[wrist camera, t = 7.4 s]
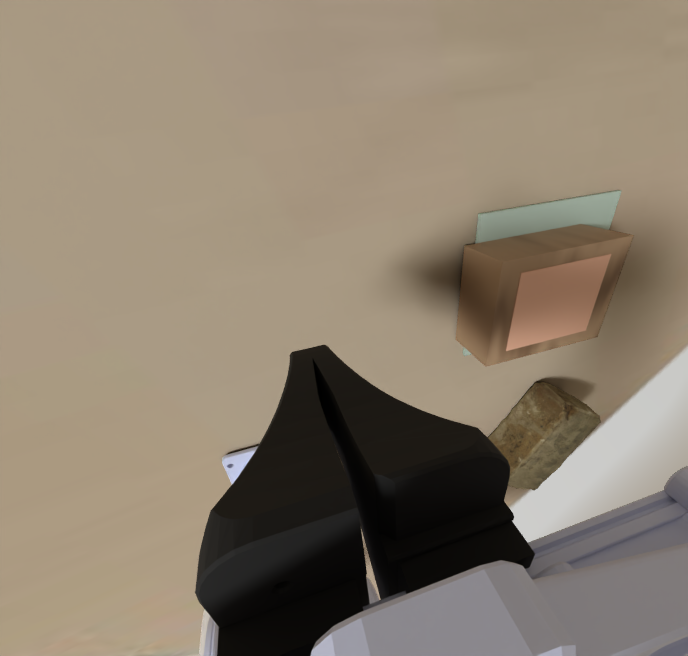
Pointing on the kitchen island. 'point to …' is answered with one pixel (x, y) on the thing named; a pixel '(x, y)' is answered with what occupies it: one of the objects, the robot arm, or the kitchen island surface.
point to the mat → (547, 217)
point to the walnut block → (537, 290)
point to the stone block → (542, 433)
